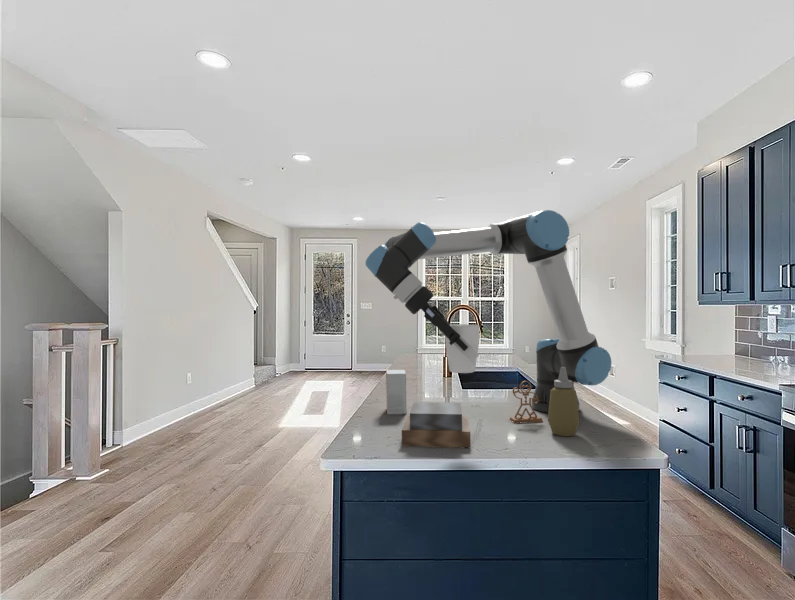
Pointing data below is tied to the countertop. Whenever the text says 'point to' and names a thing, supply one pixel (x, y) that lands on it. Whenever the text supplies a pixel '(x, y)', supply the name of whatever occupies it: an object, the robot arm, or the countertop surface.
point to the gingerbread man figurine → (526, 419)
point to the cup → (455, 356)
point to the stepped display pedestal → (436, 426)
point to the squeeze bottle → (563, 406)
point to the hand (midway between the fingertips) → (474, 356)
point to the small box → (396, 391)
